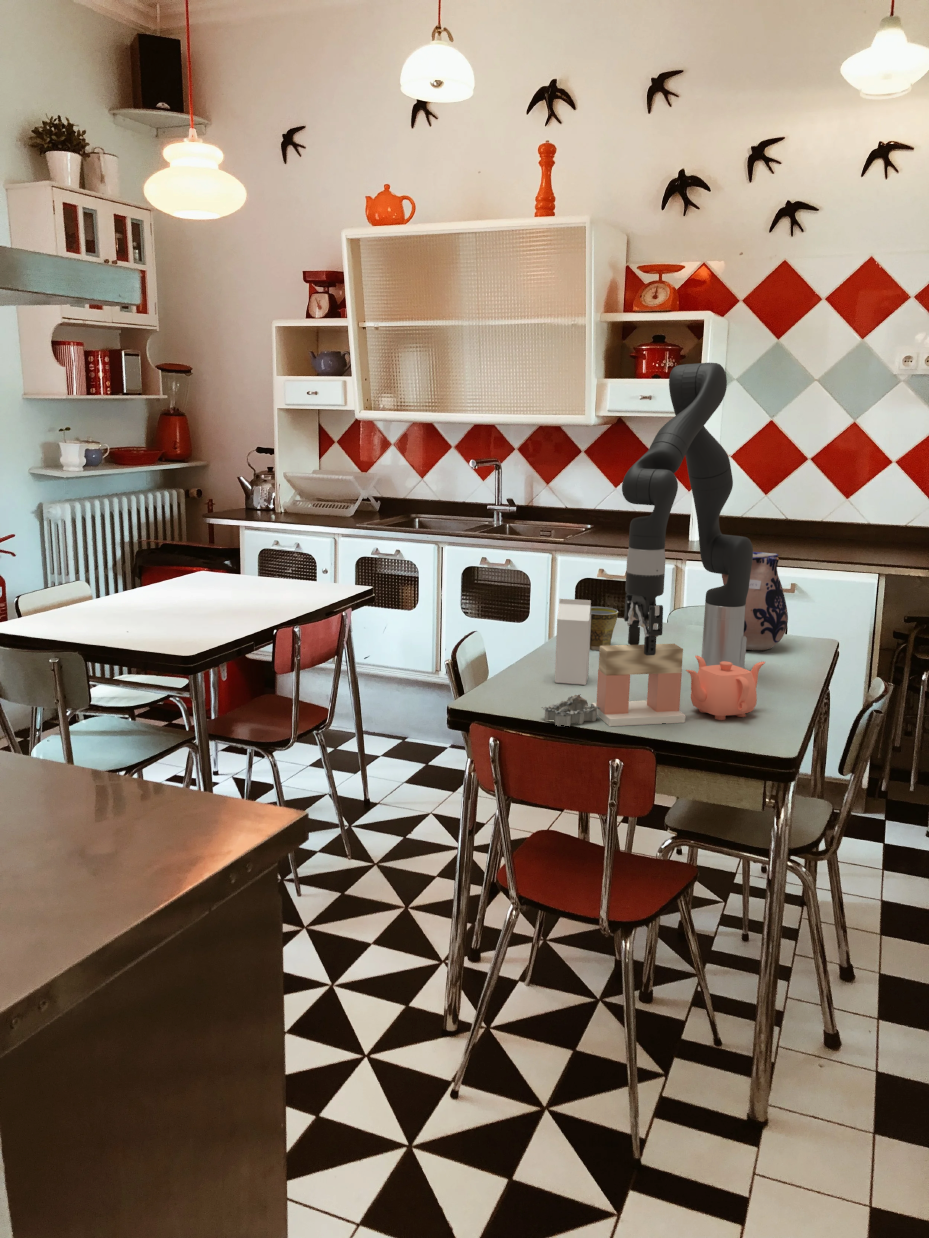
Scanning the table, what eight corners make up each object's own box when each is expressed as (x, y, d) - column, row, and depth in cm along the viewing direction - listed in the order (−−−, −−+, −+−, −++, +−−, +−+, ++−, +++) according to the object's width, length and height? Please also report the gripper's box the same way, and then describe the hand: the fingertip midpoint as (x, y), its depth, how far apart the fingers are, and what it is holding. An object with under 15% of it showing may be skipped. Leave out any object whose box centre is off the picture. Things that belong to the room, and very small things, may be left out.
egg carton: (580, 712, 204) (581, 693, 203) (603, 722, 198) (604, 702, 197) (538, 719, 199) (539, 699, 198) (560, 729, 192) (561, 709, 192)
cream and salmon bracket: (663, 706, 208) (665, 662, 206) (684, 722, 197) (688, 676, 195) (591, 709, 205) (593, 665, 203) (609, 726, 194) (611, 680, 192)
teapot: (682, 719, 200) (685, 666, 198) (692, 700, 213) (695, 651, 211) (756, 728, 195) (760, 674, 192) (761, 708, 208) (765, 658, 206)
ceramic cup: (624, 649, 257) (626, 611, 255) (595, 653, 252) (597, 615, 250) (591, 639, 268) (592, 603, 266) (563, 643, 262) (564, 606, 260)
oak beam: (672, 667, 203) (674, 643, 202) (681, 672, 198) (683, 648, 197) (598, 669, 200) (599, 645, 199) (605, 675, 195) (606, 651, 194)
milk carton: (585, 685, 223) (589, 603, 219) (554, 683, 224) (557, 601, 220) (588, 677, 230) (592, 597, 226) (558, 675, 231) (561, 595, 227)
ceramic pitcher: (759, 658, 250) (767, 561, 245) (692, 642, 266) (699, 551, 261) (798, 649, 261) (807, 555, 255) (732, 634, 277) (739, 546, 271)
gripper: (678, 576, 189) (673, 657, 192) (649, 564, 202) (645, 640, 206) (641, 577, 187) (636, 659, 191) (614, 565, 201) (611, 642, 204)
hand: (641, 649), depth 198 cm, fingers open, 8 cm apart
